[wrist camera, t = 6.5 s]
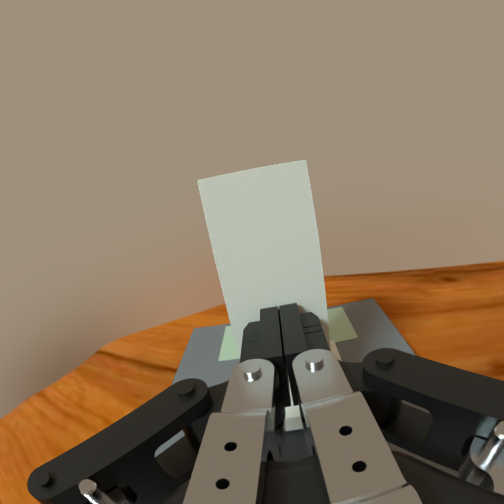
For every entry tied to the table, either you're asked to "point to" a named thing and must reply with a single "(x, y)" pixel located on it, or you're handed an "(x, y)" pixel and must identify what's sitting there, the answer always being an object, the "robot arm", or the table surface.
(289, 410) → the switch slider
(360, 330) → the switch panel
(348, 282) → the table surface
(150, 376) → the table surface
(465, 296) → the table surface
